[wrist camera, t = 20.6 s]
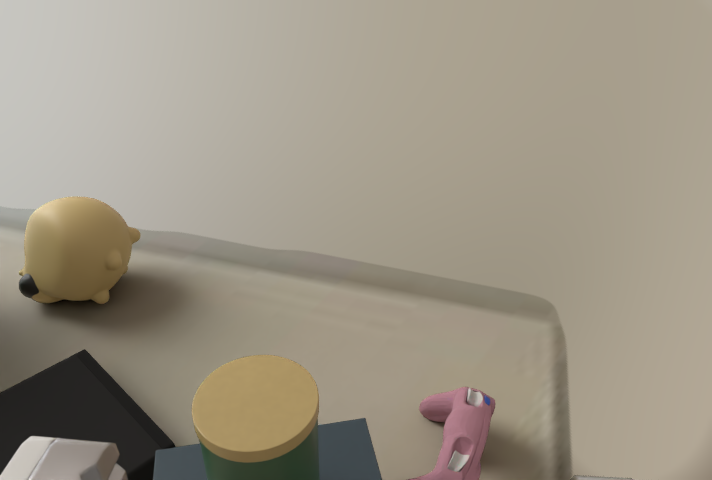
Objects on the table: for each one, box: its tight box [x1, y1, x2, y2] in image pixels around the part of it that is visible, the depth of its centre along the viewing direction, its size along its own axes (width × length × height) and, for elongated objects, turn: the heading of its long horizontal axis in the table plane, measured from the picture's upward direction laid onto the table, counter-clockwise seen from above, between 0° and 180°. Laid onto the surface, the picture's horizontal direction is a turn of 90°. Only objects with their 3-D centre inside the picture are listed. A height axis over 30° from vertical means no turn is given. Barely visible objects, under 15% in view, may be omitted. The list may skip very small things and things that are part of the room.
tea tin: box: [192, 355, 320, 480], centre depth 32 cm, size 6×6×10 cm
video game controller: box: [408, 387, 495, 480], centre depth 43 cm, size 10×5×7 cm, turn 160°
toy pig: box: [19, 197, 140, 304], centre depth 59 cm, size 10×12×11 cm
